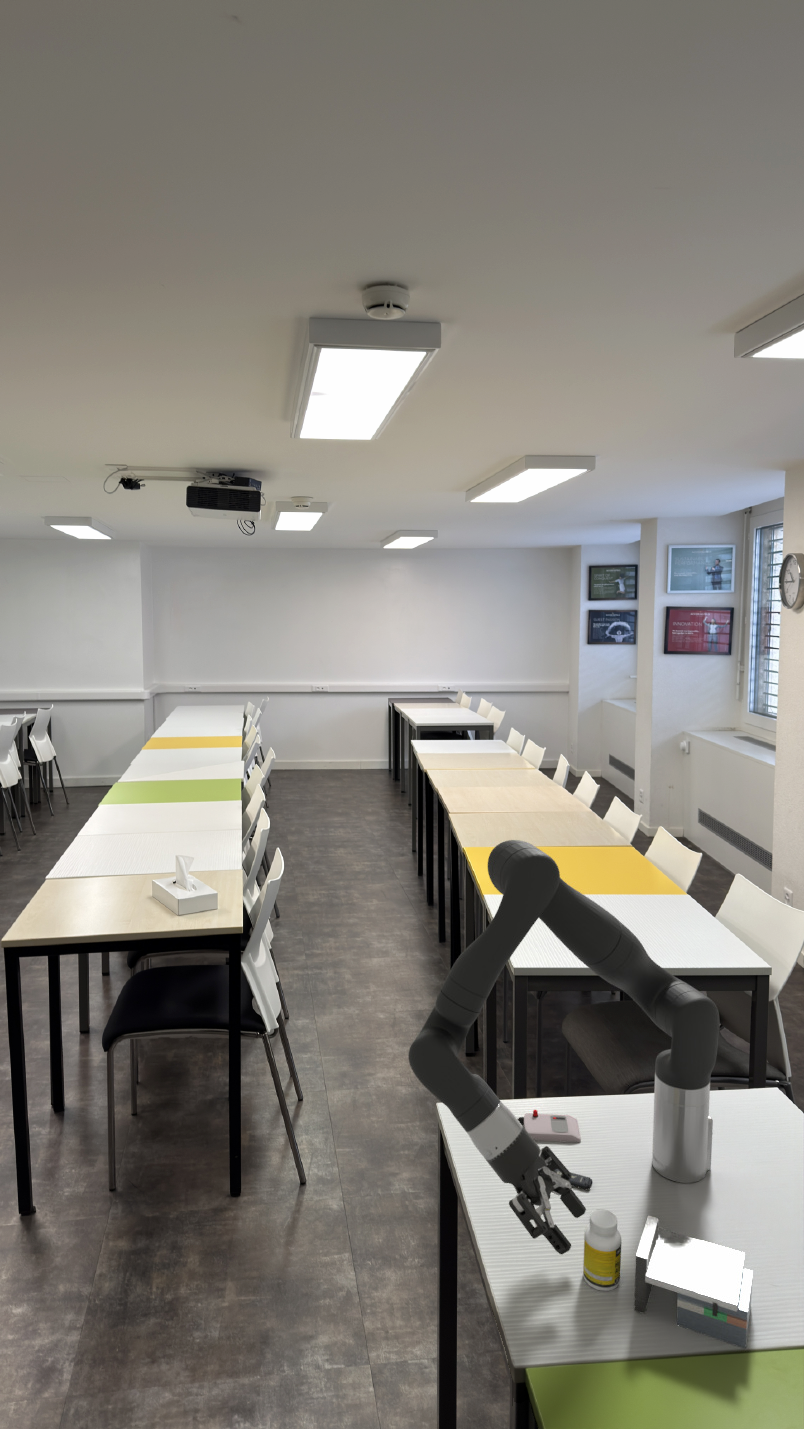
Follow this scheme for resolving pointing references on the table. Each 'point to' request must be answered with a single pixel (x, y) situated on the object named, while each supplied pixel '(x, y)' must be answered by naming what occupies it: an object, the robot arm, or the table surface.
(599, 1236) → the supplement bottle
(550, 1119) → the electrical tester
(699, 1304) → the gauge housing
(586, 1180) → the usb stick
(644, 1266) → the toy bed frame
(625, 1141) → the table surface
